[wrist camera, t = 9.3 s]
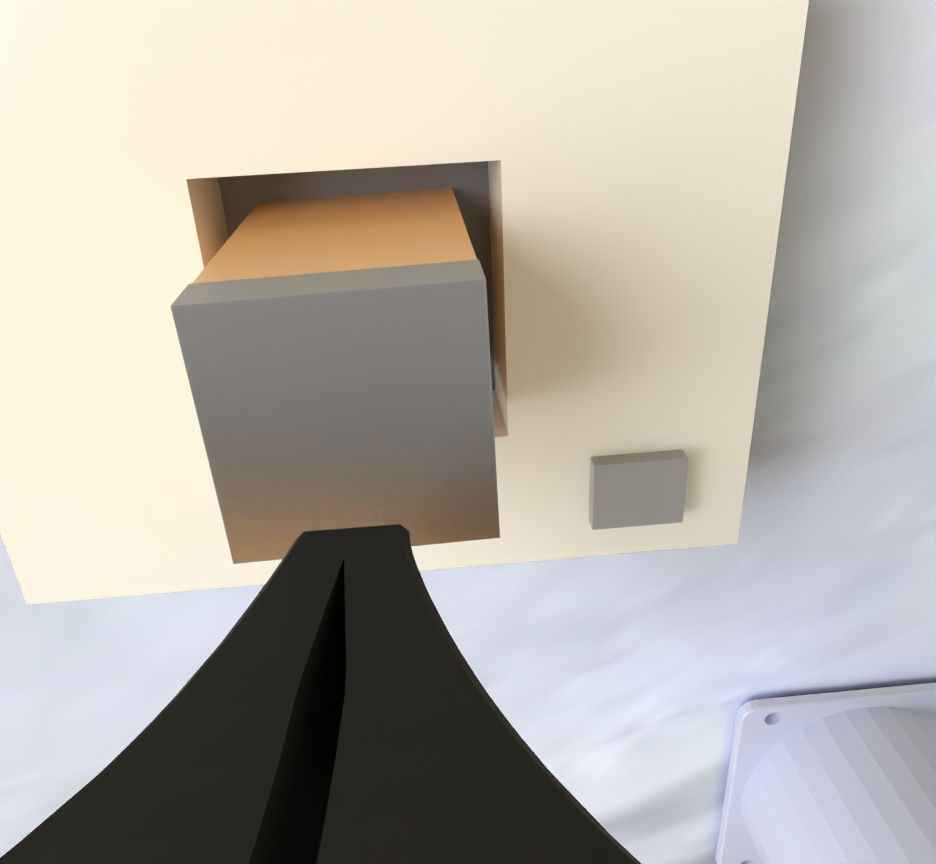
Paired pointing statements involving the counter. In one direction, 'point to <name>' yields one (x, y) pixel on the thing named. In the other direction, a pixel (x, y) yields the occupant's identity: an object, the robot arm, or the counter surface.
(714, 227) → the socket
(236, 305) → the plug
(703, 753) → the counter surface
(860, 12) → the counter surface
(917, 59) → the counter surface
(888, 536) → the counter surface
